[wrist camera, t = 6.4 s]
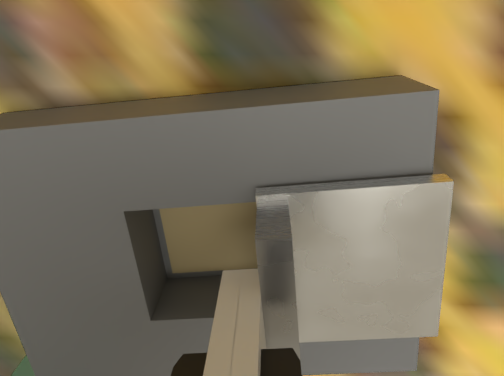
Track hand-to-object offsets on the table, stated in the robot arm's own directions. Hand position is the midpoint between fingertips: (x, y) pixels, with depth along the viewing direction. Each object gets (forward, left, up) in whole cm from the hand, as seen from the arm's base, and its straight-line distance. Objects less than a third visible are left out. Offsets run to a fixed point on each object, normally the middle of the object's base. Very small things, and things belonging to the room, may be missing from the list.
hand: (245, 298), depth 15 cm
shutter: (+4, 0, -2) cm, 5 cm away
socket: (-2, 0, -7) cm, 7 cm away
